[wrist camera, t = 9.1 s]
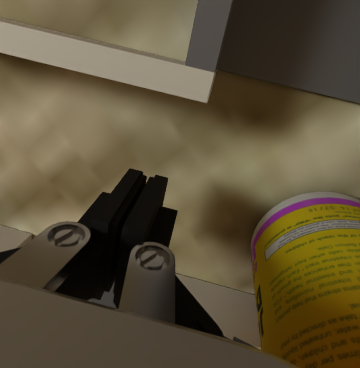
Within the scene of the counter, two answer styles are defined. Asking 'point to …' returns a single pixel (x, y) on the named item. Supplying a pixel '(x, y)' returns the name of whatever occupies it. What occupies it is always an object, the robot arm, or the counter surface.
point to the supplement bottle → (309, 280)
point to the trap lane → (204, 79)
